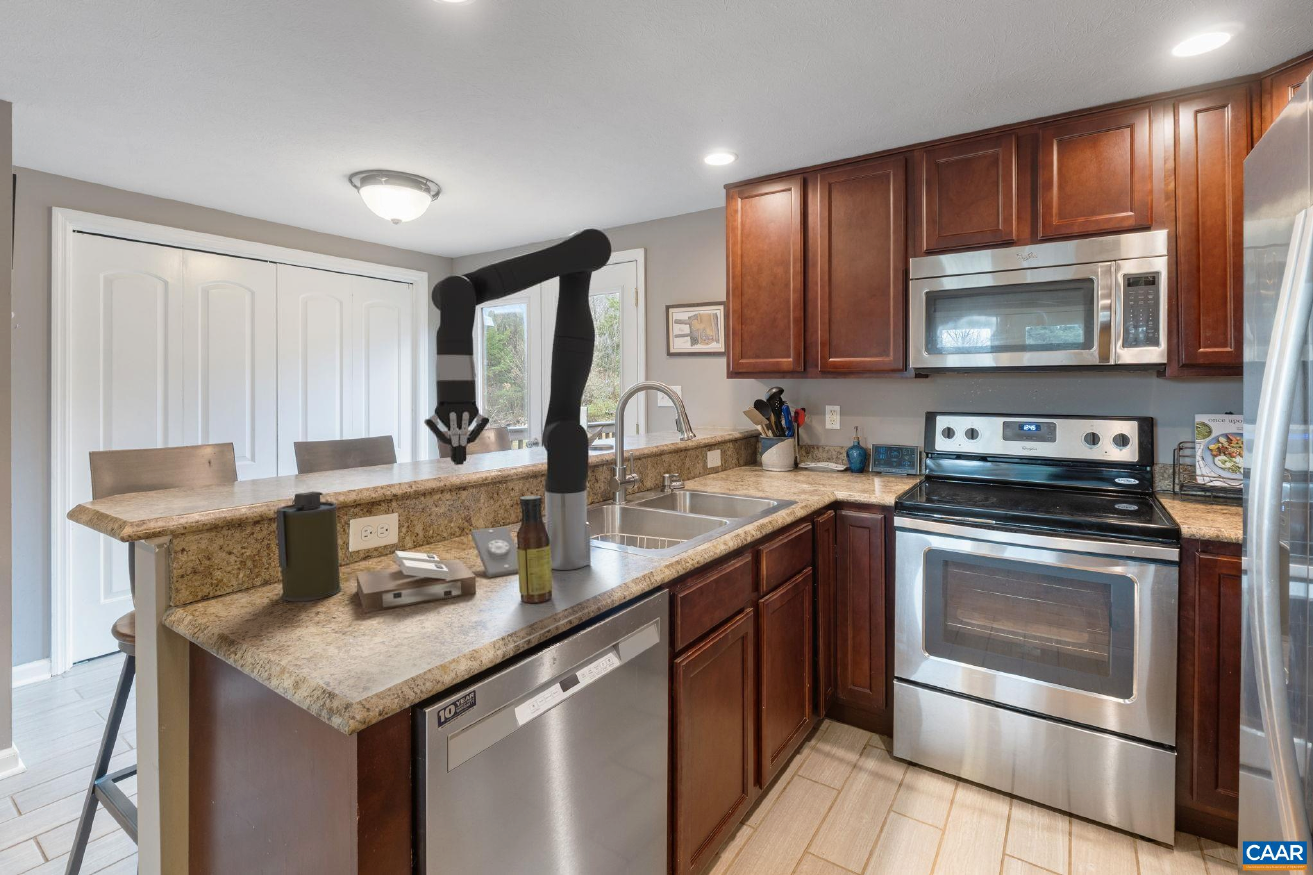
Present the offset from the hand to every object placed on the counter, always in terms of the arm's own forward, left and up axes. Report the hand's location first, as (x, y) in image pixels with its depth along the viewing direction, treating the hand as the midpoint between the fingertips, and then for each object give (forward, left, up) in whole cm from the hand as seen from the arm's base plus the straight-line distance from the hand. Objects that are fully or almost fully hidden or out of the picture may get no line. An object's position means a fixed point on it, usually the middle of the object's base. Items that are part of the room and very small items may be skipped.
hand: (458, 464), depth 127 cm
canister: (+27, -10, -25) cm, 38 cm away
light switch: (-10, -8, -25) cm, 28 cm away
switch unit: (+9, 0, -25) cm, 27 cm away
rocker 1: (+8, -4, -20) cm, 21 cm away
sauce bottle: (-10, +16, -25) cm, 31 cm away
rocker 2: (+8, +4, -20) cm, 21 cm away
